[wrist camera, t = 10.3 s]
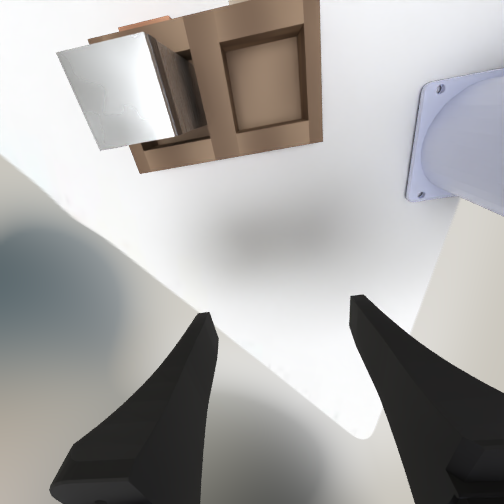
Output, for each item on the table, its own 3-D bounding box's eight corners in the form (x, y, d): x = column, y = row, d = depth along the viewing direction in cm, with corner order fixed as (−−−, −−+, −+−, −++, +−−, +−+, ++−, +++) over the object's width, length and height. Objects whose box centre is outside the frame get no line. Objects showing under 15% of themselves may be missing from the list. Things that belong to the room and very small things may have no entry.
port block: (307, -2, 14) (318, -26, 12) (313, 136, 18) (322, 141, 15) (113, 44, 15) (84, 31, 13) (155, 164, 19) (140, 173, 16)
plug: (194, 64, 16) (143, 30, 9) (208, 124, 17) (175, 136, 10) (142, 75, 16) (55, 52, 9) (161, 133, 18) (99, 151, 11)
